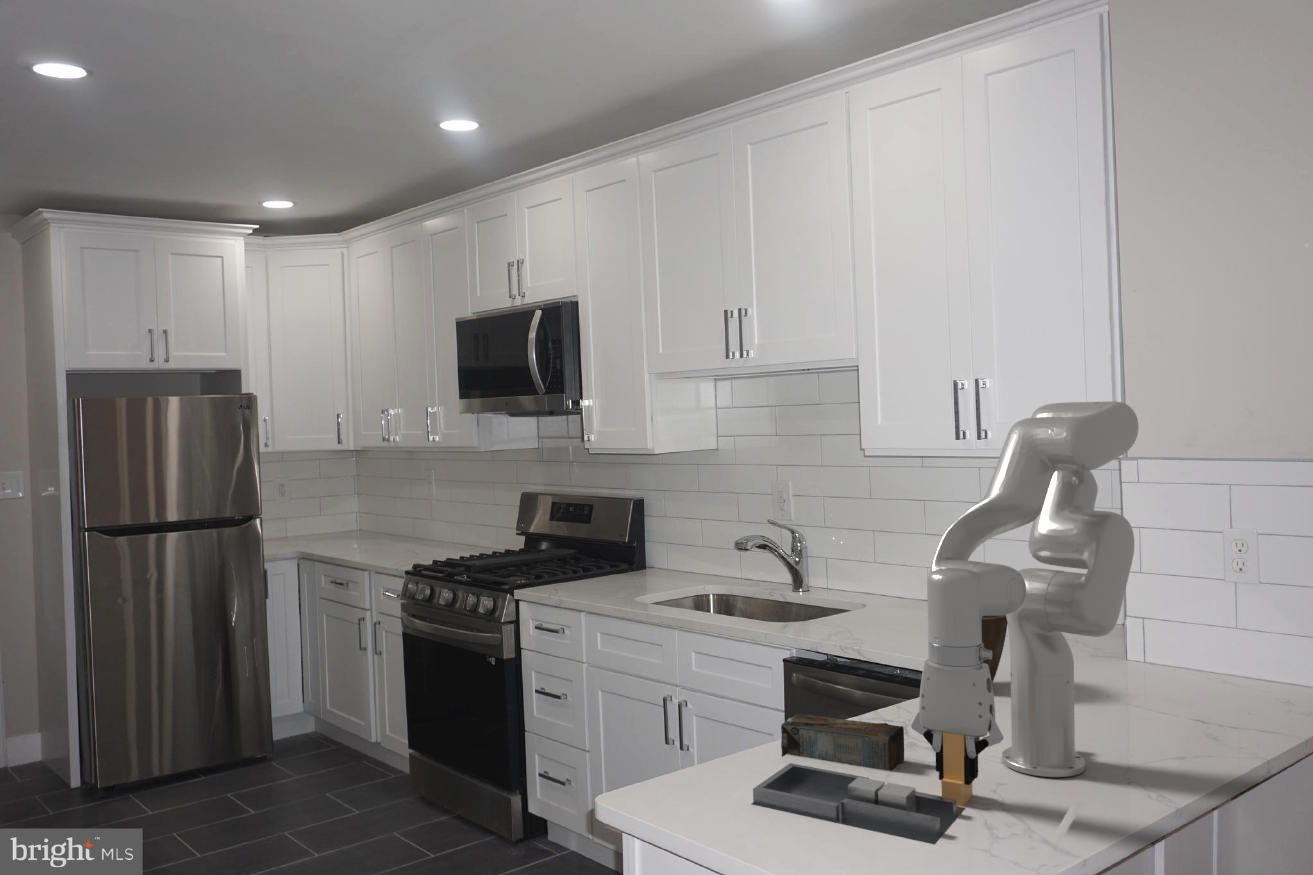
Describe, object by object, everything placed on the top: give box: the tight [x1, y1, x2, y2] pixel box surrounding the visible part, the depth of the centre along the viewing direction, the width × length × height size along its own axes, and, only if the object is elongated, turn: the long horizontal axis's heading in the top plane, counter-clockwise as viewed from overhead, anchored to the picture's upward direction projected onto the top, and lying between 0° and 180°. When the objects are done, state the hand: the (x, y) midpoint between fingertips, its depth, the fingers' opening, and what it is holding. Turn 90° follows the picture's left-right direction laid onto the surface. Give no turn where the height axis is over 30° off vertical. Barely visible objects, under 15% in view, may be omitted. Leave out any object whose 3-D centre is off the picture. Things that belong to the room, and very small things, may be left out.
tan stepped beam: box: [941, 732, 973, 808], centre depth 145 cm, size 5×3×12 cm, turn 147°
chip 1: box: [848, 776, 886, 805], centre depth 143 cm, size 4×4×4 cm
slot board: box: [751, 762, 966, 845], centre depth 143 cm, size 14×27×3 cm, turn 57°
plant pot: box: [982, 615, 1008, 684], centre depth 207 cm, size 15×15×16 cm
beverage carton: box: [780, 713, 905, 772], centre depth 165 cm, size 8×19×7 cm, turn 60°
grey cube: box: [878, 782, 917, 813], centre depth 140 cm, size 4×4×4 cm
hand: (957, 778), depth 145 cm, fingers closed on tan stepped beam, 3 cm apart
